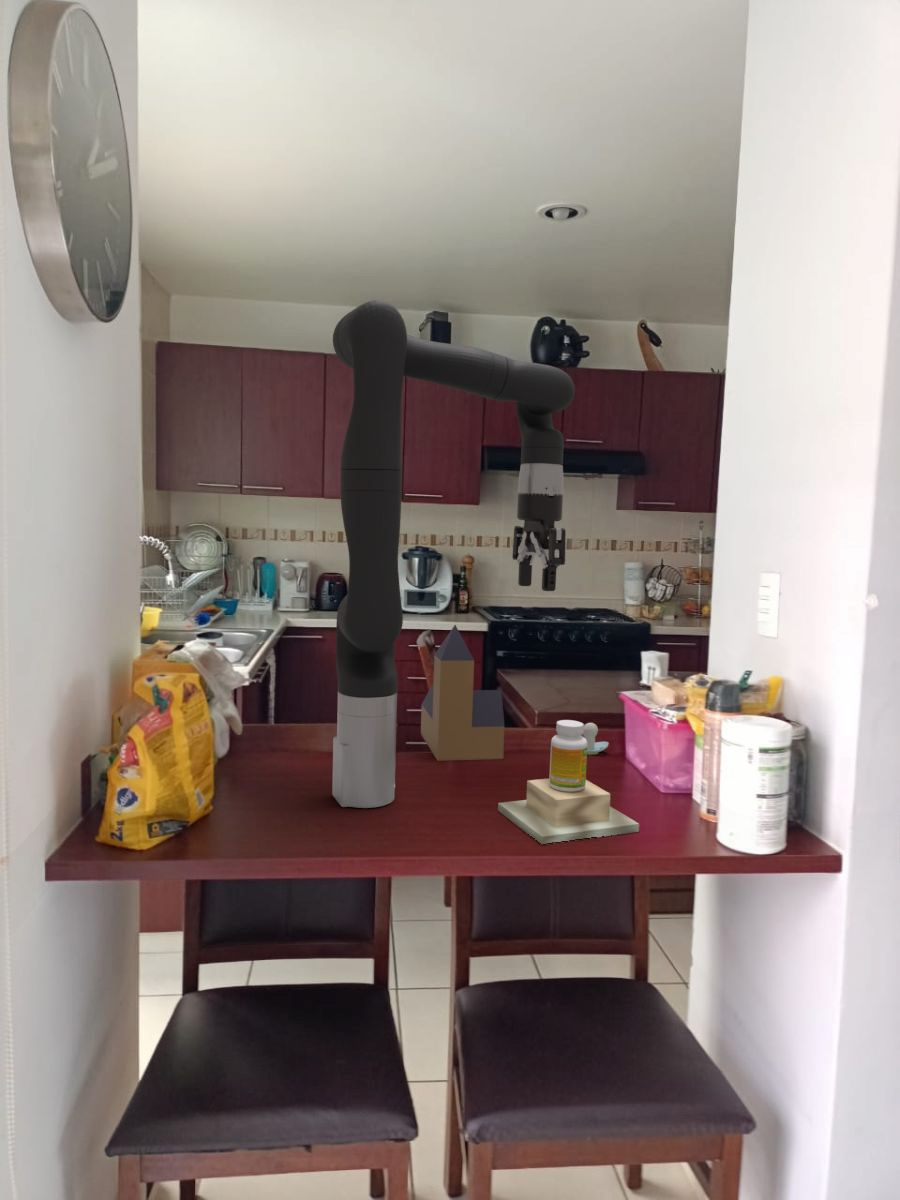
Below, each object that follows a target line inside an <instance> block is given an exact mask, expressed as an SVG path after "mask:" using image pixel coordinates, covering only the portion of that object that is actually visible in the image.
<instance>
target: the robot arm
mask: <svg viewBox="0 0 900 1200" xmlns="http://www.w3.org/2000/svg"><path fill="white" fill-rule="evenodd" d="M405 323H406V322H405V321H404V318H403V317H402V315H401V313H400V312H399V310H398V309H397V308H396V307H395V306H394V305H392V304H391V303H389V302H387V301H385V300H381V299H376V300H370V301H366V302H364V303H362V304H361V305H358V306H356V307H355V308H354V309H352V310H351V311H349V312H347V314H345V315H344V316H343V317H342V318H341V319H340V320H339V321H338V322H337V324H336V326H335V328H334V330H333V332H332V345H333V349H334V353H335V354H336V355H337V358H338V359H339V360H340V361H341V362H342V363H343V364H344V365H345V366H346V367H348V368H349V369H352V373H353V375H352V377H353V397H352V398H353V399H352V400H353V401H352V406H351V411H350V416H349V420H348V424H347V427H346V431H345V435H344V440H343V444H342V449H341V455H340V456H341V457H340V467H339V468H340V475H339V478H340V479H339V480H340V481H339V482H340V483H339V484H340V485H339V487H340V489H339V490H340V491H339V492H340V507H341V515H342V522H343V523H342V524H343V528H344V532H345V539H346V544H347V548H348V549H347V550H348V558H349V559H348V561H349V568H348V569H349V573H348V586H347V594H346V595H345V596H344V597H343V599H341V601H340V604H339V606H338V609H337V612H336V613H337V614H336V626H335V627H336V635H335V636H336V637H335V638H336V640H335V641H336V643H335V645H336V646H335V647H336V648H335V649H336V651H335V652H336V653H335V654H336V657H335V659H336V661H335V663H336V664H335V665H336V675H337V715H336V716H337V719H336V720H337V721H336V722H337V723H336V724H337V725H336V727H337V728H336V729H337V730H336V736H333V739H332V740H333V741H332V744H333V746H332V783H331V784H332V786H331V787H332V788H331V789H332V793H331V794H332V796H333V798H334V799H335V800H336V802H337V803H338V804H339V805H340V807H341V808H347V807H349V808H351V807H352V808H359V809H361V808H362V809H368V808H369V809H371V808H372V809H373V808H378V807H384V806H387V805H389V804H391V803H393V802H394V800H395V788H396V754H397V753H396V750H397V749H396V745H397V744H396V743H397V714H398V713H397V712H398V711H397V710H398V674H397V670H396V669H397V668H396V663H395V642H396V641H397V640H398V638H399V636H400V634H401V633H402V628H403V624H404V623H403V622H404V618H403V617H404V616H403V606H402V605H403V604H402V600H401V599H402V597H401V587H400V575H399V546H400V545H399V544H400V533H401V519H402V518H401V517H402V516H401V514H402V511H401V510H402V497H403V496H402V494H403V493H402V491H403V490H402V489H403V487H402V484H403V481H402V480H403V473H402V471H403V465H402V464H403V462H402V461H403V460H402V457H403V456H402V435H403V434H402V398H403V397H402V394H403V385H404V377H406V378H411V379H415V380H421V381H425V382H428V383H429V382H430V383H433V384H436V385H441V386H445V387H448V388H452V389H454V390H459V391H462V392H465V393H468V394H472V395H475V396H478V397H482V398H485V399H489V400H492V401H496V402H502V403H503V402H505V403H506V402H515V409H516V415H517V422H518V427H519V428H518V429H519V431H520V432H519V433H520V436H521V451H520V453H521V454H520V468H519V469H520V470H519V474H518V484H517V485H518V486H517V487H518V488H517V511H516V515H517V516H516V517H517V519H518V520H520V521H524V524H523V525H515V526H514V529H513V544H512V554H511V555H512V560H513V561H514V560H515V561H516V563H517V564H518V581H517V583H518V586H520V587H530V586H532V580H533V579H532V574H533V561H534V559H535V557H536V556H537V558H538V557H539V558H540V560H541V563H542V566H543V568H542V570H541V571H542V575H541V577H542V578H541V590H542V591H544V592H554V591H555V590H556V587H557V586H556V585H557V584H556V583H557V570H558V568H559V567H560V566H564V565H565V564H566V528H565V527H564V528H563V527H555V525H556V524H555V522H560V521H561V520H562V519H563V505H564V504H563V502H564V501H563V499H564V481H565V478H564V469H563V468H564V466H563V465H564V446H565V445H564V442H565V441H564V439H565V438H564V436H563V433H562V432H561V431H560V430H558V429H555V428H554V424H553V422H554V421H553V415H552V414H553V413H554V414H555V413H559V412H561V411H563V410H565V409H566V408H568V407H569V406H570V404H572V402H573V400H574V397H575V391H576V389H575V384H574V382H573V380H572V378H571V376H570V375H569V374H568V373H567V372H566V371H564V370H562V369H561V368H558V367H555V366H552V365H548V364H544V363H543V364H542V363H537V362H530V361H522V360H515V359H512V358H509V357H507V356H504V355H501V354H498V353H495V352H492V351H489V350H485V349H482V348H478V347H473V346H469V345H464V344H463V345H462V344H454V343H446V342H438V341H433V340H428V339H423V338H419V337H416V336H413V335H409V334H408V333H407V327H406V324H405Z"/></svg>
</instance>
